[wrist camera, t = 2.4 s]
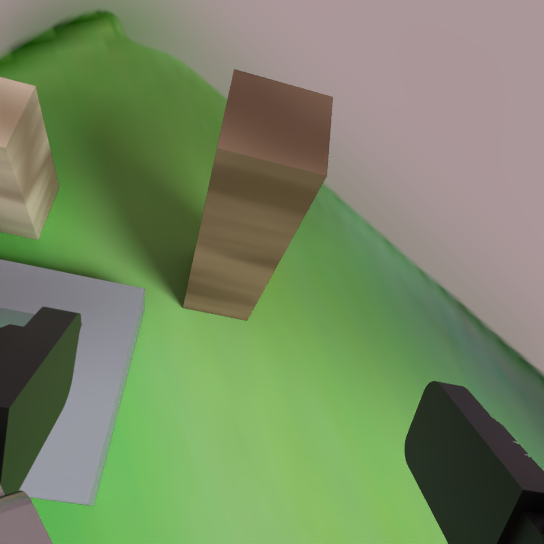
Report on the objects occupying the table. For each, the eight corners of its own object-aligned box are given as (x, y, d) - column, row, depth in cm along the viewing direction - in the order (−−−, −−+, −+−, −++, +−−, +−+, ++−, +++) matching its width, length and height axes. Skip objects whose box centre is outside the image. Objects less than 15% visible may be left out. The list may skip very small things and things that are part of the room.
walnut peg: (195, 251, 30) (234, 69, 18) (255, 264, 31) (332, 97, 18) (182, 307, 28) (216, 148, 16) (246, 320, 29) (326, 175, 17)
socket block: (-46, 273, 26) (-67, 245, 23) (144, 310, 28) (144, 288, 25) (-143, 475, 21) (-182, 468, 19) (93, 506, 23) (87, 504, 20)
